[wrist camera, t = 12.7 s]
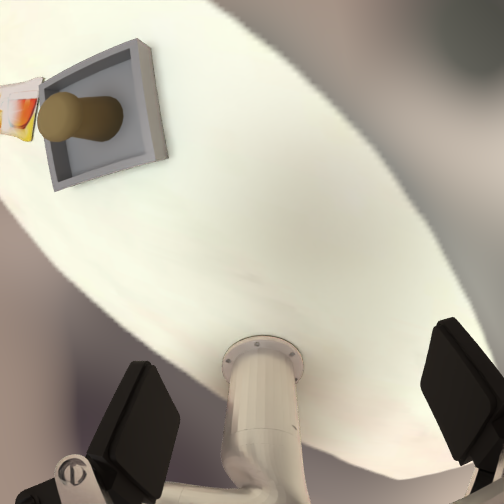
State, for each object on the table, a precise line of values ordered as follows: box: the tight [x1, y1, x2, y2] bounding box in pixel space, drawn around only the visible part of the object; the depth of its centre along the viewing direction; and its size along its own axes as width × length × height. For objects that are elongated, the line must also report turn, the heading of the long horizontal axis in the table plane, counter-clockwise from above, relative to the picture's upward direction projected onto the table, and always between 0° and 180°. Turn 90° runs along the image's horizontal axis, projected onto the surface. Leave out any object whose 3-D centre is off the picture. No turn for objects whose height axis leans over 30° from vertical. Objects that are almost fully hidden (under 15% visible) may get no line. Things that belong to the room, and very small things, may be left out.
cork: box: [37, 92, 124, 142], centre depth 26 cm, size 6×6×11 cm
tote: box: [39, 38, 168, 192], centre depth 30 cm, size 15×15×4 cm
